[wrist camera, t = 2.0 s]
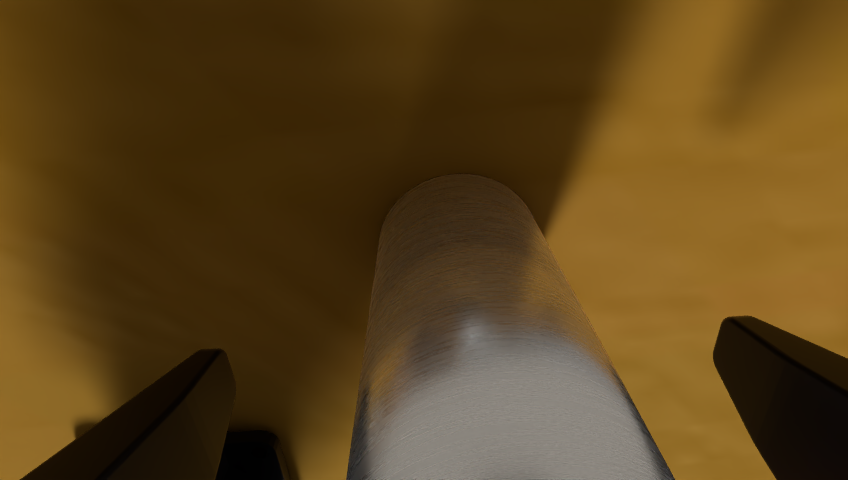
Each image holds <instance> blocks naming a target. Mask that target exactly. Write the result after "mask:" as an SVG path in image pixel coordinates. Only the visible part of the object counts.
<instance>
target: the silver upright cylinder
mask: <svg viewBox="0 0 848 480" xmlns="http://www.w3.org/2000/svg"><path fill="white" fill-rule="evenodd" d="M346 480H675V479H674V477H673V475H672V473H671V471H670V469H669V468H668V466H667V464H666V462H665V460H664V458H663V456H662V455H661V453H660V451H659V449H658V447H657V445H656V443H655V442H654V440H653V438H652V436H651V434H650V432H649V431H648V429H647V427H646V425H645V423H644V421H643V419H642V418H641V416H640V414H639V412H638V410H637V408H636V406H635V405H634V403H633V401H632V399H631V397H630V395H629V393H628V392H627V390H626V388H625V386H624V384H623V382H622V380H621V379H620V377H619V375H618V373H617V371H616V369H615V368H614V366H613V364H612V362H611V360H610V358H609V356H608V355H607V353H606V351H605V349H604V347H603V345H602V343H601V342H600V340H599V338H598V336H597V334H596V332H595V330H594V329H593V327H592V325H591V323H590V321H589V319H588V318H587V316H586V314H585V312H584V310H583V308H582V306H581V305H580V303H579V301H578V299H577V297H576V295H575V293H574V292H573V290H572V288H571V286H570V284H569V282H568V280H567V279H566V277H565V275H564V273H563V271H562V269H561V268H560V266H559V264H558V262H557V260H556V258H555V256H554V255H553V253H552V251H551V249H550V247H549V245H548V243H547V242H546V240H545V238H544V236H543V234H542V232H541V230H540V229H539V227H538V225H537V223H536V221H535V219H534V218H533V216H532V214H531V212H530V210H529V208H528V207H527V205H526V204H525V203H524V201H523V200H522V199H521V198H520V197H519V196H518V195H517V194H516V193H515V192H514V191H512V190H511V189H510V188H508V187H507V186H505V185H503V184H502V183H500V182H498V181H495V180H493V179H491V178H488V177H484V176H480V175H474V174H450V175H443V176H439V177H435V178H432V179H430V180H427V181H425V182H423V183H421V184H419V185H417V186H415V187H413V188H412V189H411V190H409V191H408V192H407V193H405V194H404V195H403V196H402V197H401V198H400V199H399V200H398V201H397V202H396V203H395V204H394V206H393V207H392V208H391V210H390V211H389V213H388V215H387V216H386V218H385V221H384V223H383V225H382V229H381V233H380V237H379V244H378V252H377V259H376V266H375V274H374V281H373V288H372V295H371V303H370V310H369V317H368V325H367V332H366V339H365V347H364V354H363V361H362V368H361V376H360V383H359V390H358V398H357V405H356V412H355V420H354V427H353V434H352V442H351V449H350V456H349V463H348V471H347V478H346Z"/></svg>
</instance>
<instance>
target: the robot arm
mask: <svg viewBox="0 0 848 480" xmlns="http://www.w3.org/2000/svg"><path fill="white" fill-rule="evenodd" d="M713 361H714V364H715V367H716V369H717V371H718V373H719V375H720V377H721V379H722V381H723V383H724V385H725V387H726V389H727V391H728V393H729V395H730V397H731V399H732V401H733V403H734V405H735V407H736V409H737V411H738V413H739V415H740V417H741V419H742V421H743V423H744V425H745V427H746V429H747V431H748V433H749V435H750V436H751V438H752V440H753V442H754V444H755V446H756V447H757V449H758V451H759V452H760V454H761V456H762V457H763V459H764V460H765V462H766V464H767V465H768V467H769V468H770V470H771V472H772V473H773V475H774V476H775V478H776V479H777V480H848V359H847V358H845V357H843V356H841V355H838V354H836V353H834V352H832V351H829V350H827V349H825V348H823V347H820V346H818V345H816V344H813V343H811V342H809V341H807V340H804V339H802V338H800V337H798V336H795V335H793V334H791V333H789V332H786V331H784V330H782V329H780V328H777V327H775V326H773V325H770V324H768V323H766V322H764V321H761V320H759V319H757V318H755V317H752V316H733V317H727V318H725V319H724V320H723V321H722V323H721V326H720V330H719V333H718V337H717V340H716V344H715V347H714V351H713ZM235 395H236V382H235V379H234V376H233V373H232V370H231V366H230V363H229V360H228V357H227V355H226V352H225V351H224V350H222V349H219V348H218V349H203V350H199V351H197V352H196V353H194V354H193V355H191V356H190V357H189V358H187V359H186V360H184V361H183V362H182V363H180V364H179V365H178V366H176V367H175V368H173V369H172V370H171V371H169V372H168V373H167V374H165V375H164V376H162V377H161V378H160V379H158V380H157V381H155V382H154V383H153V384H151V385H150V386H149V387H147V388H146V389H144V390H143V391H142V392H140V393H139V394H138V395H136V396H135V397H133V398H132V399H131V400H129V401H128V402H126V403H125V404H124V405H122V406H121V407H120V408H118V409H117V410H115V411H114V412H113V413H111V414H110V415H109V416H107V417H106V418H104V419H103V420H102V421H100V422H99V423H97V424H96V425H95V426H93V427H92V428H91V429H89V430H88V431H86V432H85V433H84V434H82V435H81V436H80V437H78V438H77V439H75V440H74V441H73V442H71V443H70V444H68V445H67V446H66V447H64V448H63V449H62V450H60V451H59V452H57V453H56V454H55V455H53V456H52V457H50V458H49V459H48V460H46V461H45V462H44V463H42V464H41V465H39V466H38V467H37V468H35V469H34V470H32V471H31V472H30V473H28V474H27V475H26V476H24V477H23V478H21V479H20V480H290V476H289V473H288V469H287V466H286V462H285V459H284V456H283V452H282V449H281V445H280V442H279V440H278V438H277V437H276V436H275V435H274V434H273V433H270V432H267V431H243V432H227V429H228V425H229V421H230V417H231V413H232V408H233V404H234V400H235Z"/></svg>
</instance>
